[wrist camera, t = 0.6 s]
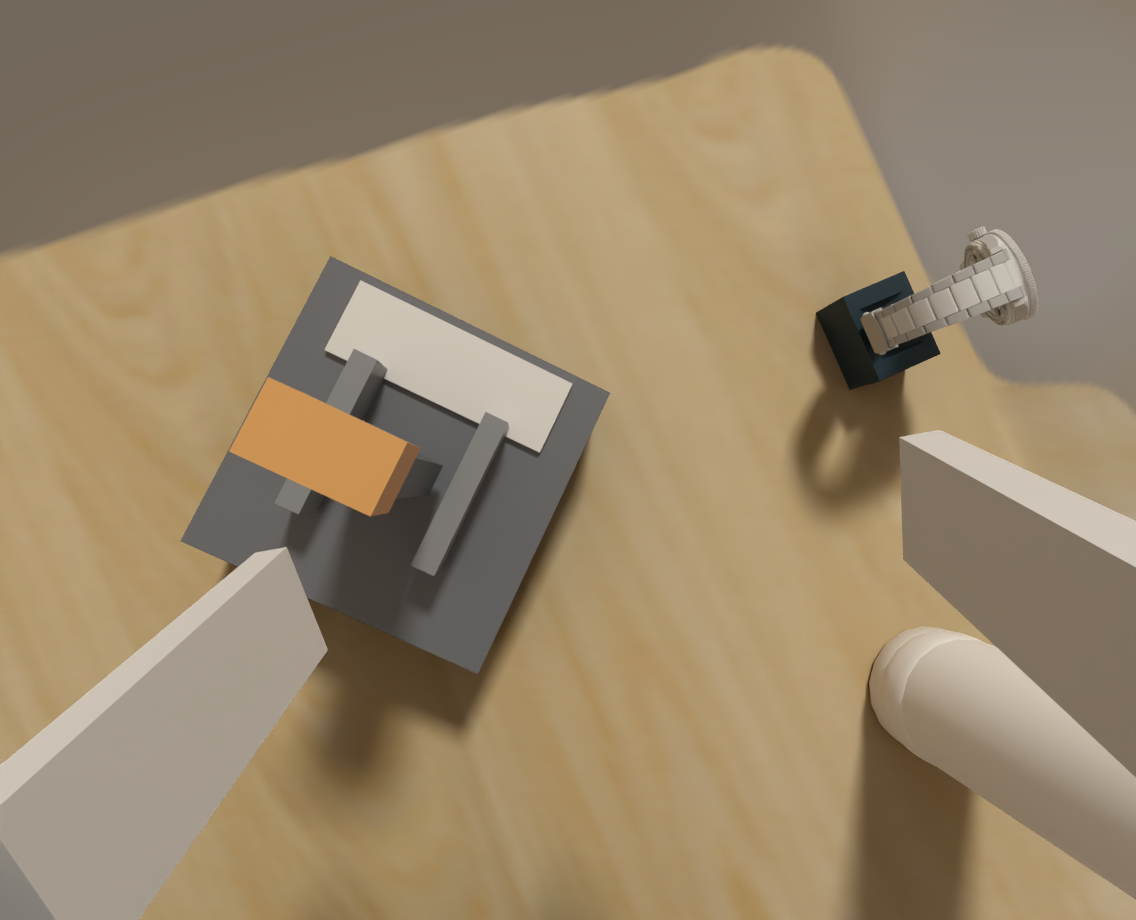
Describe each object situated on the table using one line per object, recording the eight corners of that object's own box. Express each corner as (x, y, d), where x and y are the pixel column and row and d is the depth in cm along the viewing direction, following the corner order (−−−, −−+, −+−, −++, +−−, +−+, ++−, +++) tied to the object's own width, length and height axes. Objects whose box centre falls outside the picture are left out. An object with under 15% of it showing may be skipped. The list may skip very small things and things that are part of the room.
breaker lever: (428, 504, 28) (370, 516, 17) (344, 465, 28) (229, 451, 16) (450, 460, 28) (407, 442, 17) (367, 421, 28) (268, 376, 17)
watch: (930, 353, 38) (1098, 299, 27) (826, 399, 37) (955, 363, 26) (896, 276, 38) (1050, 192, 27) (791, 321, 37) (906, 252, 26)
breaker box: (483, 643, 35) (474, 690, 27) (236, 532, 34) (149, 546, 26) (595, 407, 36) (618, 384, 28) (359, 292, 35) (314, 235, 27)
